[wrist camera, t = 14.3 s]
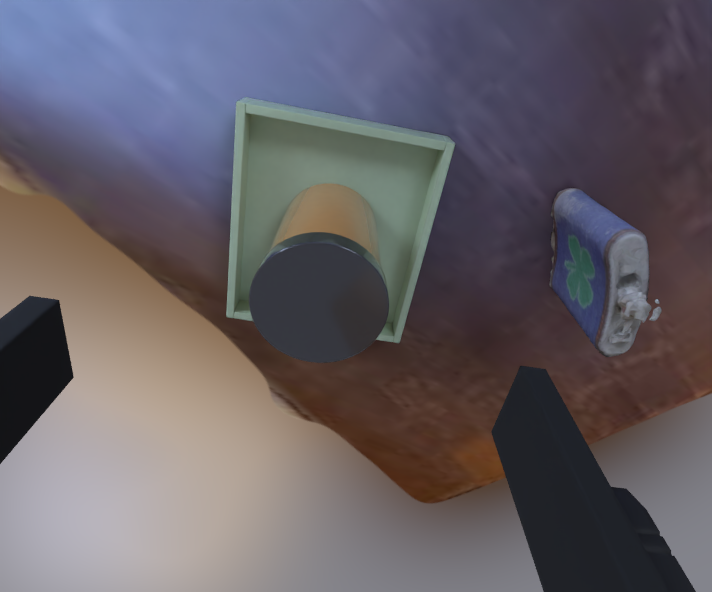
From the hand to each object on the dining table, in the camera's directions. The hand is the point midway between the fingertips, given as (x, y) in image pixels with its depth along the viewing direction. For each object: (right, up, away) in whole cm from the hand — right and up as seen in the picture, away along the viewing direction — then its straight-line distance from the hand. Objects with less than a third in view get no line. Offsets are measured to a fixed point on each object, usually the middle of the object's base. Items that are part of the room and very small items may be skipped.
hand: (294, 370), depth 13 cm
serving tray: (0, +8, +22) cm, 23 cm away
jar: (0, +7, +21) cm, 22 cm away
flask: (+18, +6, +22) cm, 30 cm away
